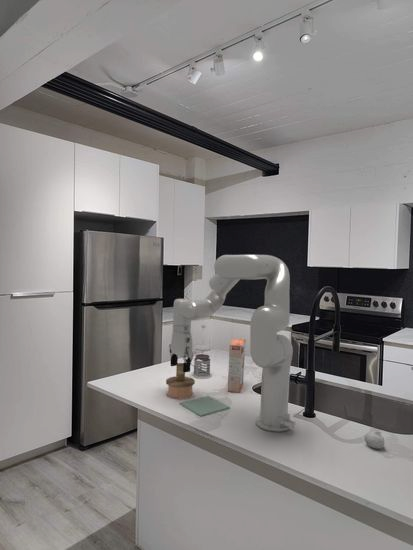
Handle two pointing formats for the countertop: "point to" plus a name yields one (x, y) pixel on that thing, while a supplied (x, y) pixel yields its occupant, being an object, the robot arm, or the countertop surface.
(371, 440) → the garlic
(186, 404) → the mat
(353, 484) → the countertop surface
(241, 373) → the cracker box
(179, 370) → the lid
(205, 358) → the french press
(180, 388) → the bowl
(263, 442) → the countertop surface
